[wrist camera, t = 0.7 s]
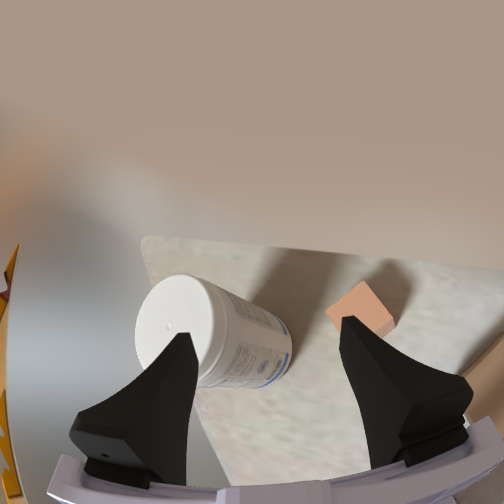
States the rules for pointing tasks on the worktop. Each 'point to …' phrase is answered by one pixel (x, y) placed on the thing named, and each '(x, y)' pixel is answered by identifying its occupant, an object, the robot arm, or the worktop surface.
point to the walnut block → (487, 386)
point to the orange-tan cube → (362, 310)
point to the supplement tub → (214, 333)
